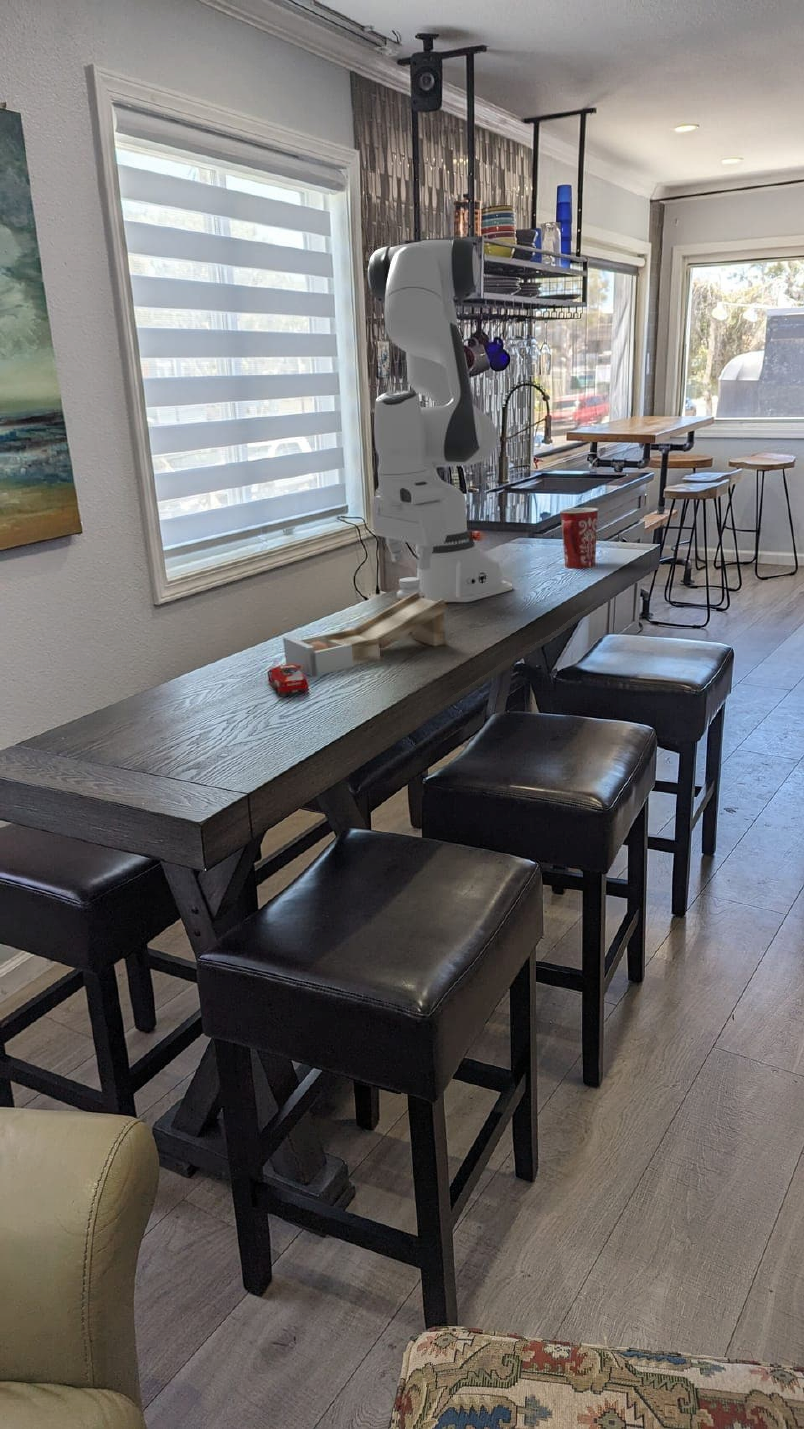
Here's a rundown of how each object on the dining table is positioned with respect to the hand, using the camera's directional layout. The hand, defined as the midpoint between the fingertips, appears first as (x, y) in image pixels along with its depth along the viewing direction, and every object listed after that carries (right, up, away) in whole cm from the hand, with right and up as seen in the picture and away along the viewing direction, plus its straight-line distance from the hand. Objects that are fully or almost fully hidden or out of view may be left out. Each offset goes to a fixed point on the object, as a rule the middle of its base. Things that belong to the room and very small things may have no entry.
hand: (410, 565), depth 178 cm
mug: (+41, +9, +61) cm, 74 cm away
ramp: (-4, -15, +2) cm, 16 cm away
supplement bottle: (+1, -10, +16) cm, 19 cm away
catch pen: (-16, -18, -5) cm, 25 cm away
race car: (-20, -23, -15) cm, 34 cm away
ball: (-16, -16, -6) cm, 24 cm away
